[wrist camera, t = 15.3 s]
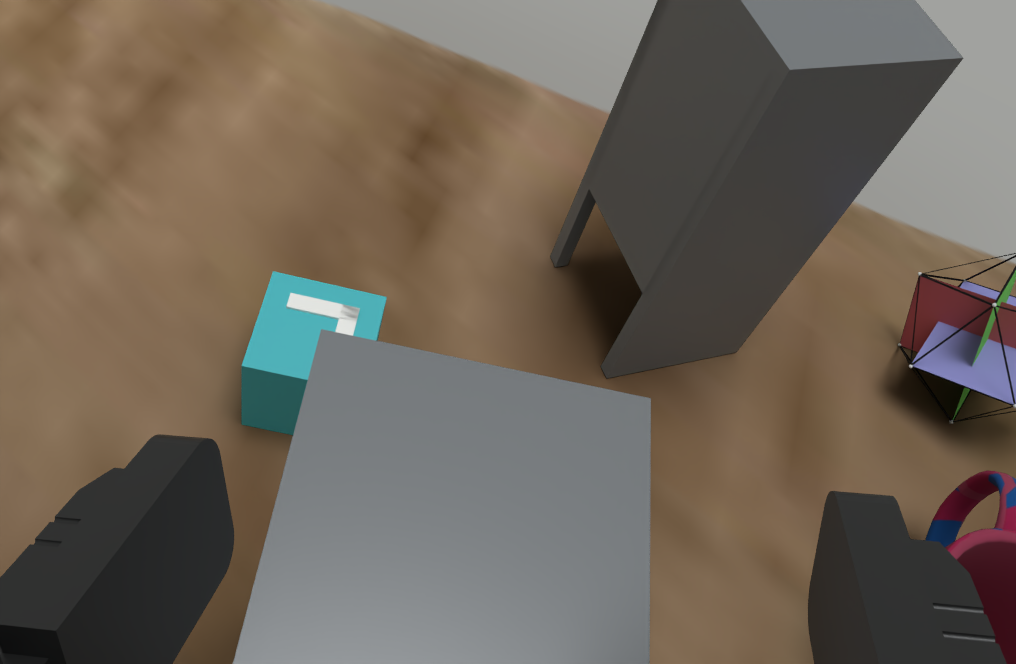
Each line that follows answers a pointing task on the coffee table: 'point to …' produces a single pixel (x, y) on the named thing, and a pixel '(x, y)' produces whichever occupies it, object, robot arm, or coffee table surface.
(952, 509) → the mug
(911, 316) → the geometric puzzle
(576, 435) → the gray legged block
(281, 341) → the letter cube
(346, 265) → the coffee table surface
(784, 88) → the tall gray rectangular cabinet
